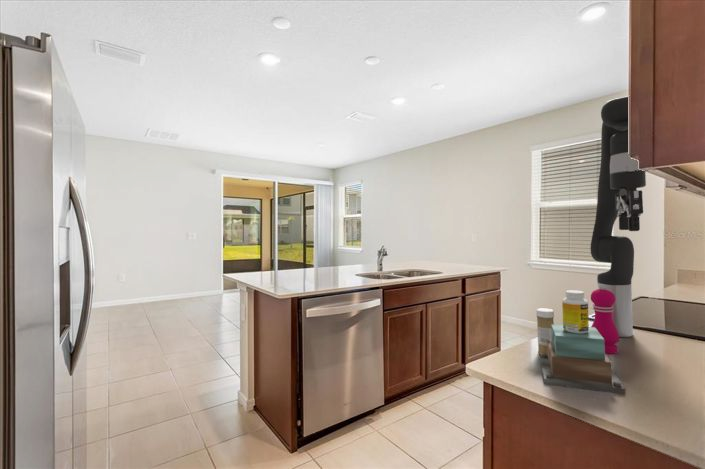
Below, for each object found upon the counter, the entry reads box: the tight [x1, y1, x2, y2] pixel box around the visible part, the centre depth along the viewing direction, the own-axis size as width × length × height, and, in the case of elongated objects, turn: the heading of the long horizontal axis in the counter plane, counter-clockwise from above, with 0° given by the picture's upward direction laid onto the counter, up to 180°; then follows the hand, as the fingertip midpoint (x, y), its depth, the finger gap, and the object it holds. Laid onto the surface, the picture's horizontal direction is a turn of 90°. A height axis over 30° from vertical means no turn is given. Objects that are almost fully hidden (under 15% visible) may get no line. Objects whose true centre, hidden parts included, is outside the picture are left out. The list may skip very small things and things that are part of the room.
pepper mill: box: [590, 284, 620, 355], centre depth 103 cm, size 7×7×20 cm
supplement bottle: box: [561, 289, 590, 334], centre depth 88 cm, size 6×6×10 cm
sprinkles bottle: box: [535, 307, 555, 356], centre depth 102 cm, size 5×5×13 cm
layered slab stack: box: [539, 324, 626, 395], centre depth 88 cm, size 16×16×11 cm
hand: (628, 230), depth 94 cm, fingers open, 8 cm apart
